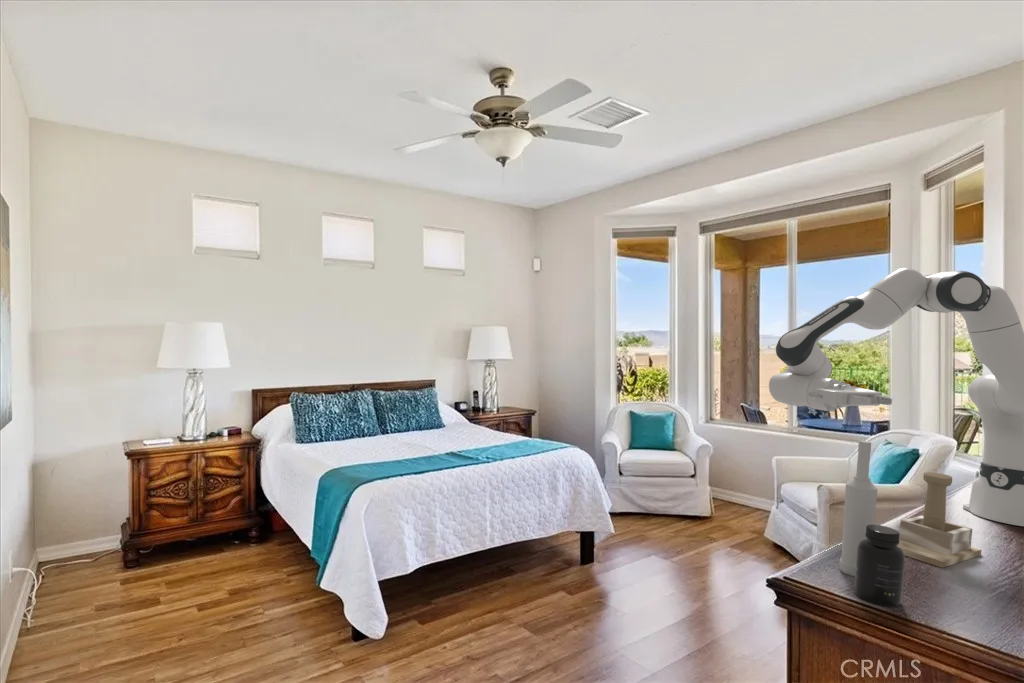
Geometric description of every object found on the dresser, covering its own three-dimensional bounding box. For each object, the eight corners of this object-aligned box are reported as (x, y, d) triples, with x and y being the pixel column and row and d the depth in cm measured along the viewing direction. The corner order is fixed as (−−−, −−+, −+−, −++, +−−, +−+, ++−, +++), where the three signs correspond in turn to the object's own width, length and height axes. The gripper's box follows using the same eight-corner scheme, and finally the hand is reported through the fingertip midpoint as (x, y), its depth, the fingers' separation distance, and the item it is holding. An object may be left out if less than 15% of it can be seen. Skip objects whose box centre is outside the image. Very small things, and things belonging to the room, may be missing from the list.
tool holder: (918, 536, 134) (920, 512, 134) (981, 555, 124) (983, 529, 124) (878, 546, 125) (880, 521, 125) (942, 567, 115) (944, 540, 115)
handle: (948, 543, 126) (954, 476, 126) (942, 549, 122) (948, 479, 122) (922, 537, 130) (928, 471, 129) (915, 542, 125) (921, 474, 125)
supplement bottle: (845, 587, 102) (851, 520, 101) (885, 591, 101) (891, 523, 101) (867, 606, 95) (873, 534, 94) (910, 610, 94) (916, 537, 94)
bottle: (847, 576, 106) (858, 443, 106) (833, 565, 112) (843, 437, 111) (876, 579, 106) (887, 445, 106) (860, 568, 111) (871, 440, 111)
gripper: (805, 382, 150) (859, 388, 138) (848, 383, 161) (902, 389, 149) (803, 406, 150) (857, 414, 138) (846, 405, 161) (900, 413, 149)
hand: (881, 401), depth 144 cm, fingers open, 8 cm apart
